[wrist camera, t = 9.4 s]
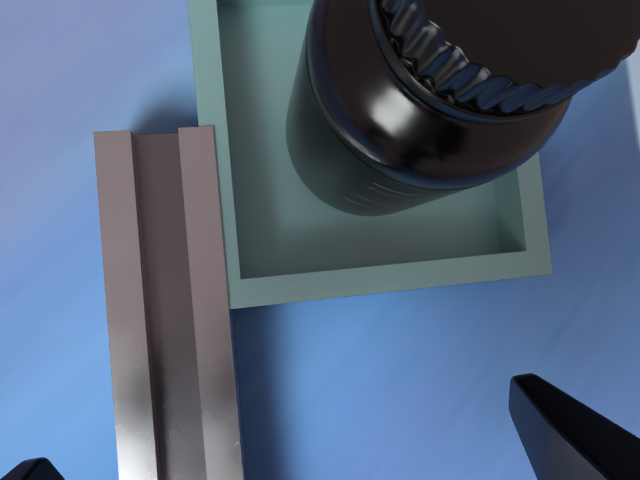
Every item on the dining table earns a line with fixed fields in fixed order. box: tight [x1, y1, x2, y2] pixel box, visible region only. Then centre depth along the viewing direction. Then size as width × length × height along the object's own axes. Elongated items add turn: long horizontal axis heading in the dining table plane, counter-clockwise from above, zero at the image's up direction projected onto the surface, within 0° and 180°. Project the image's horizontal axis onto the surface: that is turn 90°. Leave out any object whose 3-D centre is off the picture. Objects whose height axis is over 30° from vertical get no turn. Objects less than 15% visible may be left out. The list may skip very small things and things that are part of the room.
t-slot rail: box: [93, 126, 247, 480], centre depth 17 cm, size 20×4×3 cm, turn 6°
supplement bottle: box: [286, 0, 640, 216], centre depth 14 cm, size 7×7×12 cm
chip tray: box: [188, 0, 553, 309], centre depth 19 cm, size 13×13×2 cm
